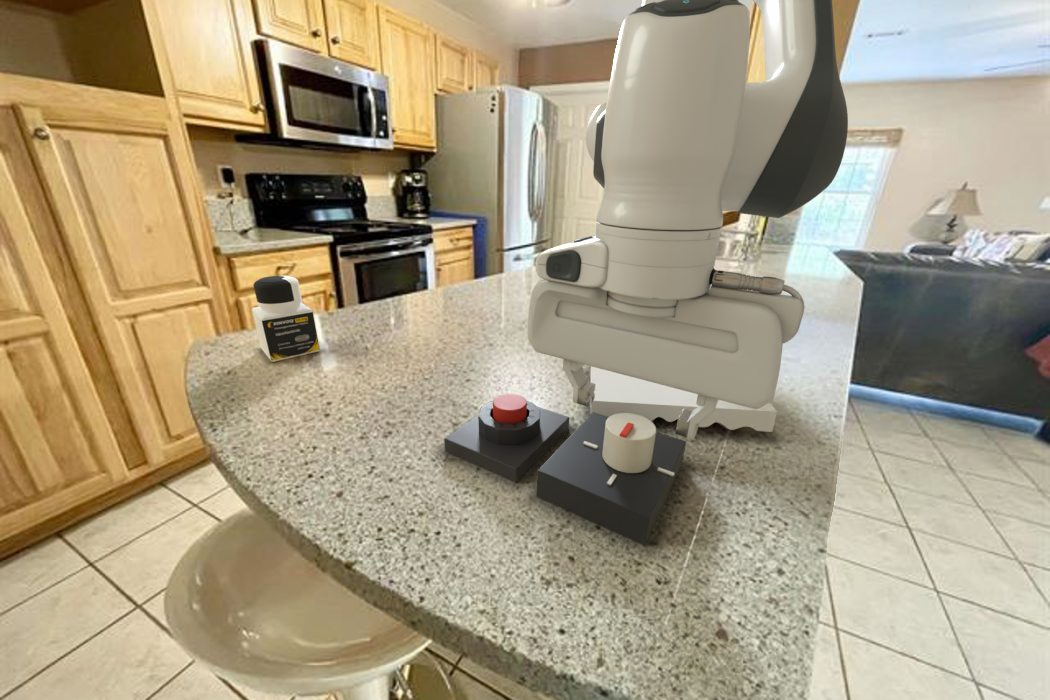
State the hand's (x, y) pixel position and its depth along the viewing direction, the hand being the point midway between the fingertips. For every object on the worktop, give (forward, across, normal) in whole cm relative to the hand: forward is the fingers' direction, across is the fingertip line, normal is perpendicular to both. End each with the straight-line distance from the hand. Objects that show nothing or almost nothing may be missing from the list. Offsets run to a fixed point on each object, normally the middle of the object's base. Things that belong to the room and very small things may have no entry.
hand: (631, 417), depth 37 cm
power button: (+4, +13, +1) cm, 13 cm away
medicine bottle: (+8, +57, 0) cm, 57 cm away
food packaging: (+8, +1, -18) cm, 20 cm away
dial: (+4, 0, +1) cm, 4 cm away
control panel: (+7, +1, +1) cm, 7 cm away
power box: (+7, +13, +1) cm, 15 cm away
